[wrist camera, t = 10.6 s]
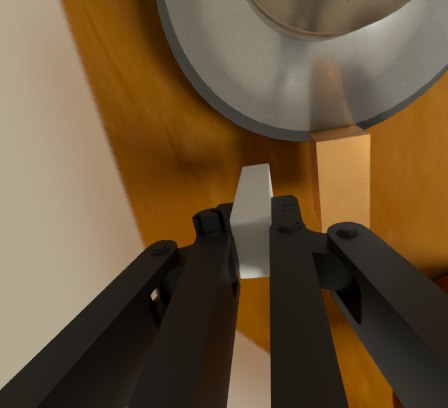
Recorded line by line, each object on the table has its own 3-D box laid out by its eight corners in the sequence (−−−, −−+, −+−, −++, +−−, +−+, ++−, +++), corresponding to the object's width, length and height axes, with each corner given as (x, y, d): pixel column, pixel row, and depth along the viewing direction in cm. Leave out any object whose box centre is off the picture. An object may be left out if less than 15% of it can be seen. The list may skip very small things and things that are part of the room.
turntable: (129, -194, 13) (80, -288, 9) (537, -366, 10) (682, -596, 6) (219, 214, 21) (210, 243, 17) (462, 186, 18) (508, 215, 14)
